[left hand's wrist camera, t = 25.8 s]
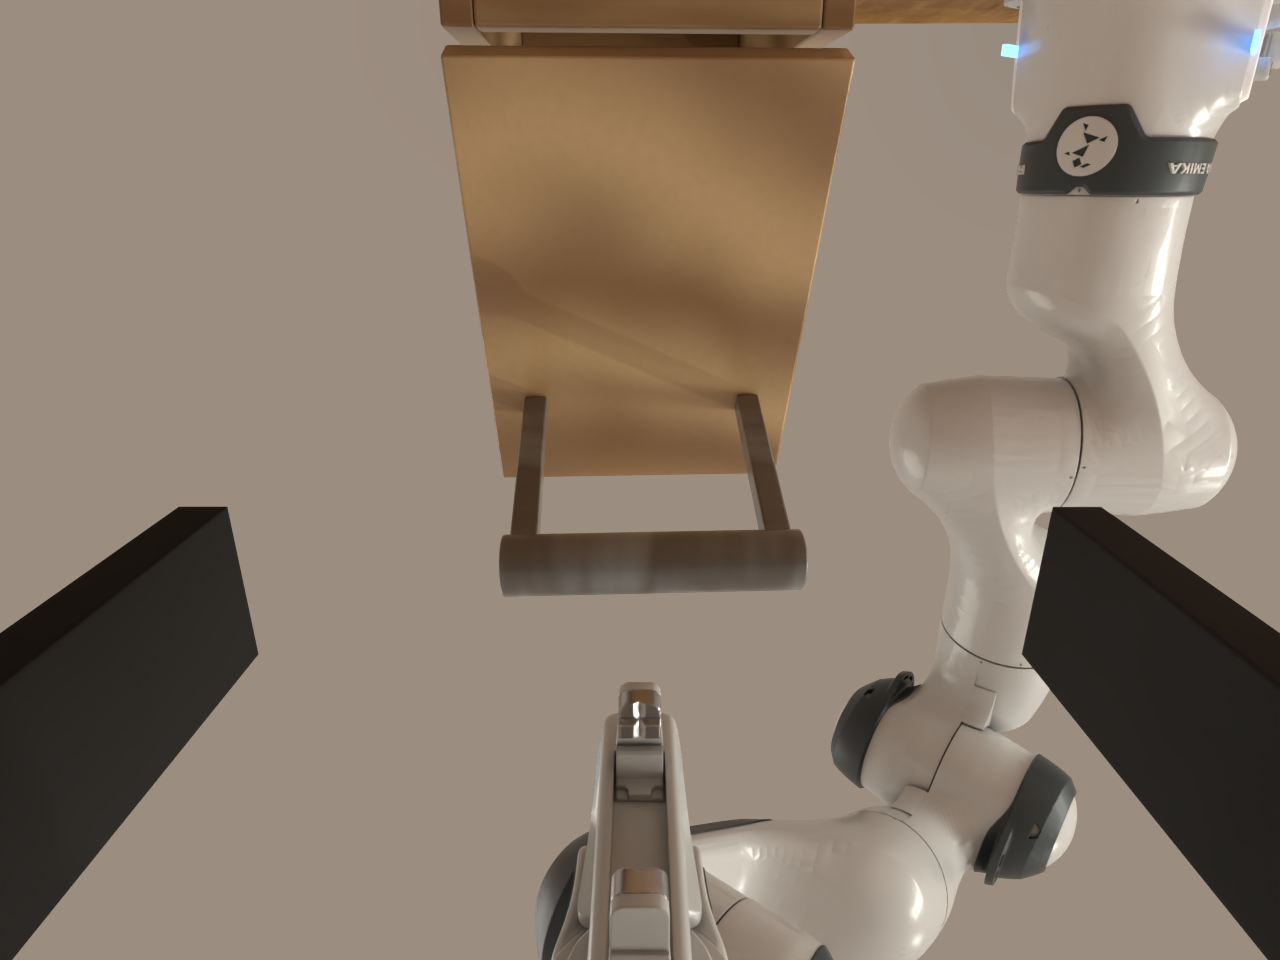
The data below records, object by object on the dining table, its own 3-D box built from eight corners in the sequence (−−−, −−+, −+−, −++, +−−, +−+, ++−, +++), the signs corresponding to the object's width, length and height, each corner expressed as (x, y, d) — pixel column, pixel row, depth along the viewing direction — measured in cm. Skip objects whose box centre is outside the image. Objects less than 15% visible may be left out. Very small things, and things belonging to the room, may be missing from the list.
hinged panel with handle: (771, 458, 28) (818, 653, 22) (504, 462, 27) (480, 662, 21) (848, 47, 18) (966, 197, 12) (444, 44, 18) (373, 197, 12)
